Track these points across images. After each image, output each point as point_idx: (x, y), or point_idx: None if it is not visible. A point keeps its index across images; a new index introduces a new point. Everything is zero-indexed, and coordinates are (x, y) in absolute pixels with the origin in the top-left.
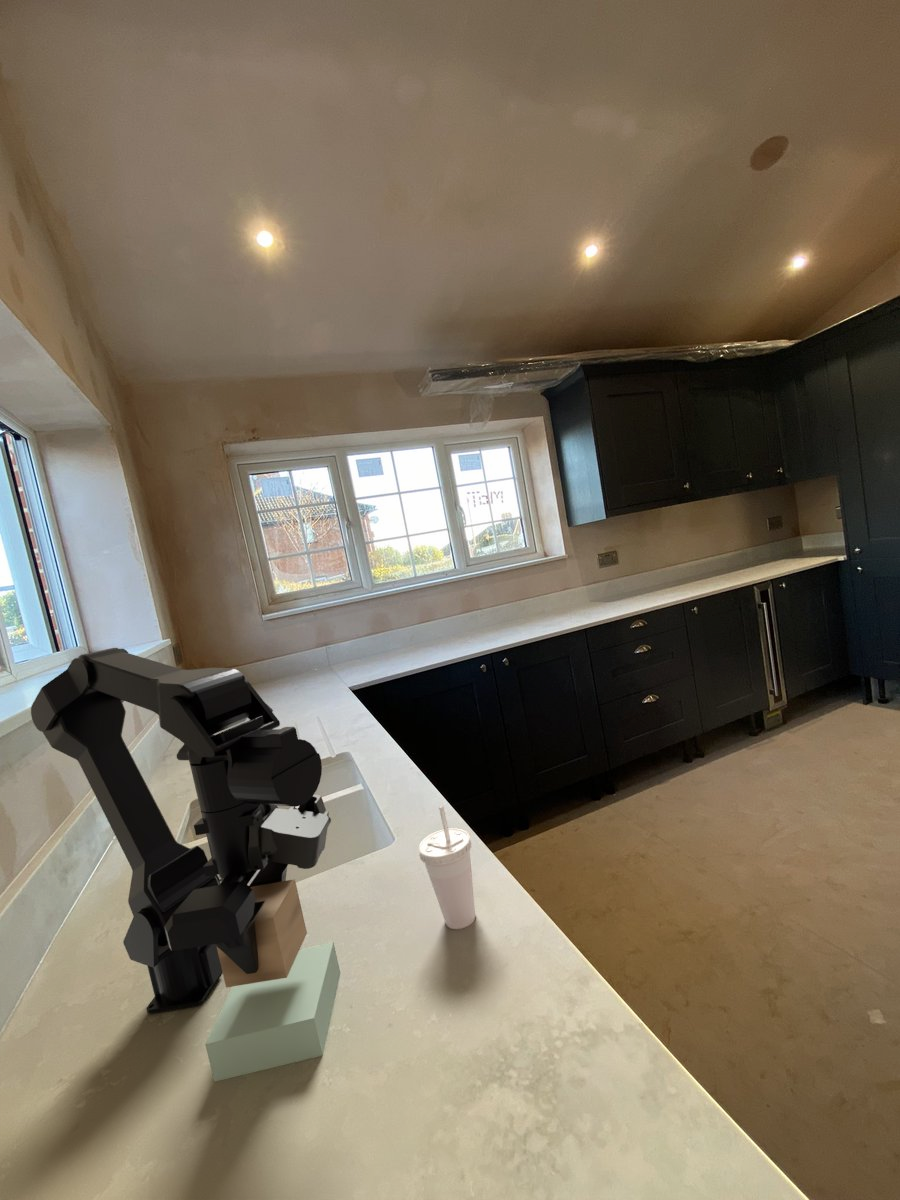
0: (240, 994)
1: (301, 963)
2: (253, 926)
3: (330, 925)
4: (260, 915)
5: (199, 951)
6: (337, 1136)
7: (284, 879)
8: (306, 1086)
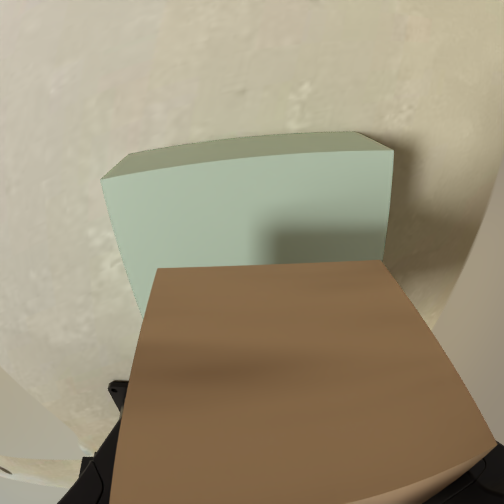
0: None
1: (181, 249)
2: (479, 466)
3: (4, 235)
4: (432, 490)
5: None
6: (477, 90)
7: (87, 500)
8: (404, 150)
